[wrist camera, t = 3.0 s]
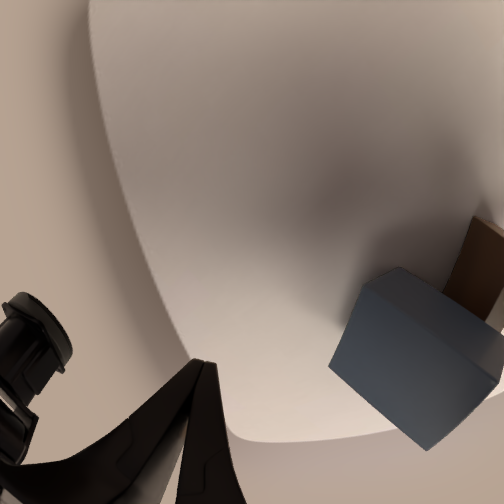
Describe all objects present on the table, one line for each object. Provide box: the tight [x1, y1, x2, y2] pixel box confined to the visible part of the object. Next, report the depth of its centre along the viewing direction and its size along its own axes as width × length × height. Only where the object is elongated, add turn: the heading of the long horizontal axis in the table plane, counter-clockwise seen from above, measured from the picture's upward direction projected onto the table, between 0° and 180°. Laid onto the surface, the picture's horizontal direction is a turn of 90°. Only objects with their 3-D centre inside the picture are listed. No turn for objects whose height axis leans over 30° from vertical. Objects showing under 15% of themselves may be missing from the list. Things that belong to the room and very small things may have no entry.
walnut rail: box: [443, 216, 504, 333], centre depth 11 cm, size 2×12×4 cm, turn 173°
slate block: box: [328, 267, 504, 451], centre depth 10 cm, size 7×5×8 cm
